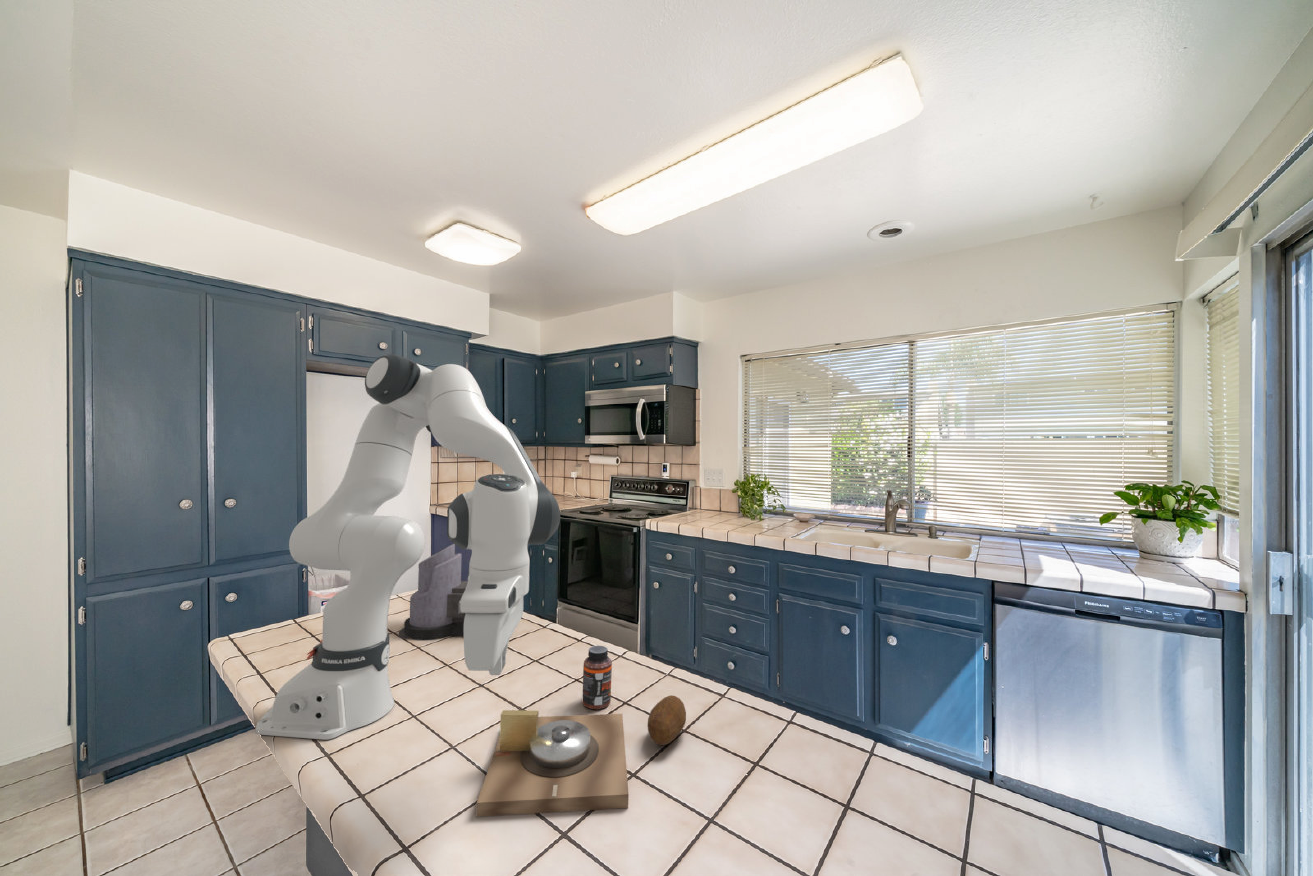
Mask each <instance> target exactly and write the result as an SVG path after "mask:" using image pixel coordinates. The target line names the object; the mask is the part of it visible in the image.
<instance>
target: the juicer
mask: <svg viewBox="0 0 1313 876" xmlns="http://www.w3.org/2000/svg"><path fill="white" fill-rule="evenodd" d="M462 559H463V558H462V553H456V545H455V544H454V543H452V544H451V545H448V546H447V547H445V548H444V549H441V550H440V551H438V552H436V553H434V554H433V555H431V556H429V557H428V558H425V559H423V560H422V561H420V562H419V563H418V577H417V578H418V579H417V581H418V582H417V591H415V592H413V593H412V594H411V596H410V597H409V617H408V618H406V619H405V620H404V624H403V626H404V627H402V628H401V629H400V630H399V632H398V637H399V638H400V639H402V640H414V641H433V640H435V641H436V640H440V639H445V638H464V618H465V615H466V613H464V612H461V610H460V602H461V598H462V596H463V593H464V591H465V589H466V587H467V583H468V580H462Z"/></svg>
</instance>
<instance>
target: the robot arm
mask: <svg viewBox="0 0 1313 876" xmlns="http://www.w3.org/2000/svg"><path fill="white" fill-rule="evenodd" d="M364 387H365V391H366V393H367V395H368V396H369V397H370V398H372V399H373V400H374V401H376V402H378V403H377V404H375V405H374V406H372V407H371V409H370V410H369V411H368V413H367V415H366V417H365V419H364V421H363V423H362V425H361V427H360V429H359V432H358V434H357V437H356V439H355V440H356V441H355V443H354V446H353V449H352V453H351V455H350V458H349V462H348V465H347V468H346V471H345V472H344V476H343V478H342V480H341V482H340V484H339V485H338V487H337V489H336V490H335V492H334V493H333V494H332V495H331V497H330V498H329V499H328V500H327V501H326V502H325V503H324V504H323V506H321V507H320V508H319V509H318V510H317V511H316V512H313V513H312V514H311V515H309V516H307V517H306V518H304V519H302V520H301V521H299V522H298V523H297V525H295V527H294V529H293V530H292V532H291V534H290V537H289V542H288V546H289V547H288V549H289V553H290V555H291V557H292V559H293V560H294V562H296V563H298V564H301V565H303V566H308V567H310V568H312V569H313V568H314V569H318V570H325V571H326V570H329V571H347V572H349V573H350V577H349V582H348V585H347V587H346V588H345V589H342V590H341V591H339V592H337V593H335V595H333V596H332V597H330V599H329V600H328V601H327V602H326V603H325V605H324V607H323V610H322V612H323V615H322V639H321V640H320V643H318V644H316V645H315V646H314V647H312V649H311V650H310V651H308V652H307V653H306V655H307V657H306V660H309V659H311V658H312V661H311V663H310V664H308V665H307V666H306V667H304V668H303V669H302V670H300V671H299V672H298V673H296V674H295V675H294V676H293V677H292V678H290V679H289V680H288V681H287V682H285V684H283V686H281V687H280V689H279V690H278V691H277V694H276V695H275V697H274V701H273V705H272V708H270V709H268V710H267V711H266V712H265V713H264V714H263V715H262V717H260V719H259V720H258V721H257V724H256V725H255V734H257V735H262V736H272V737H273V736H275V737H287V738H298V739H299V738H303V739H313V740H325V741H326V740H332V739H335V738H336V737H339V736H341V735H343V734H346V733H347V732H349V731H353V730H355V729H359V728H361V727H364V726H367V725H369V724H372V723H374V722H376V721H377V720H379V719H381V718H383V717H384V716H385V715H387V714H388V713H389V712H390V711H392V709H393V707H394V705H395V699H394V697H393V693H392V689H391V684H390V677H389V669H388V668H389V667H388V664H389V662H390V661H389V659H390V652H391V651H390V650H391V645H390V634H389V633H388V624H389V609H390V600H391V597H392V593H393V591H394V588H395V586H396V584H397V582H398V581H399V580H400V579H401V577H402V576H403V575H404V574H405V573H406V572H407V571H408V570H410V569H411V568H413V567H414V566H415V565H416V564H417V563H418V561H419V560H420V558H421V557H422V556H423V553H424V550H425V545H426V537H425V533H424V531H423V529H422V527H421V526H420V524H419V523H418V522H416V521H413V520H411V519H406V518H403V517H398V516H395V515H392V516H391V515H375V513H376V512H377V510H378V509H379V508H380V507H381V506H382V505H383V504H385V503H386V502H388V501H390V500H392V499H394V498H395V497H398V496H399V495H400V494H401V492H402V491H403V489H404V488H405V484H406V483H407V482H406V480H407V477H408V472H409V469H410V465H411V463H412V458H413V452H414V448H415V443H416V439H417V436H418V434H419V433H420V432H421V430H423V429H424V428H426V430H427V431H428V432H429V433H430V434H432V436H433V437H434V439H435V440H436V442H437V443H439V445H440V446H441V447H443V448H445V450H446V449H447V450H448V451H451V452H452V453H455V454H459V455H464V456H470V457H473V458H478V459H482V460H485V461H488V462H490V463H492V464H495V466H498V467H499V468H500V469H502V471H503V473H504V474H503V473H501V474H500V473H492V474H487V475H484V476H481V477H479V478H478V479H476V480H475V482H474V486H473V489H472V490H470V491H467V492H464V493H460V494H459V495H457V497H455V498H454V499H453V500H452V501H451V502H450V504H449V505H448V506H447V519H446V520H447V523H446V525H447V529H446V537H447V539H448V540H449V541H450V542H451V543H452V544H455V546H457V547H458V548H460V549H461V550H469V551H470V550H471V556H470V560H469V562H468V563H469V565H468V566H469V567H468V575H467V576H468V577H467V581H468V583H467V587H466V589H465V591H464V593H463V596H462V598H461V602H460V610H461V612H464V613H466V615H465V618H464V637H463V651H464V653H463V655H464V664H465V666H466V668H467V670H468V671H473V672H475V671H476V672H483V671H484V672H487V671H488V673H489V675H490V676H500V675H501V674H502V672H503V670H504V667H505V666H506V664H507V663H506V662H507V653H508V648H509V641H510V639H511V637H512V635H513V634H514V632H515V630H516V629H517V627H518V625H519V623H520V622H521V619H522V617H523V614H524V596H526V595H527V594H528V593H529V591H530V563H531V562H530V555H529V551H528V545H529V546H532V545H533V546H536V545H544V544H545V543H547V541H548V540H550V539H551V537H553V535H554V534H555V533H556V531H557V530H558V528H559V526H560V523H561V511H560V507H559V503H558V501H557V499H556V497H555V495H553V492H552V491H550V490H549V489H548V487H547V486H546V485H545V483H544V482H543V480H542V479H541V478H540V475H539V474H538V472H537V470H536V468H535V466H534V465H533V463H532V460H531V459H530V457H529V455H528V454H527V452H526V450H525V449H524V447H523V445H522V443H521V442H520V439H518V437H517V435H516V433H515V431H513V430H512V429H511V428H509V427H508V426H507V425H505V424H503V423H502V422H501V421H500V420H499V419H498V418H496V416H494V414H492V412H491V411H490V410H489V408H488V407H487V404H486V401H485V397H484V395H483V393H482V390H481V388H480V385H479V384H478V382H477V380H476V379H475V377H474V375H473V374H472V373H471V372H470V370H468V369H467V368H466V367H465V366H462V365H460V364H455V363H446V364H442V365H440V366H437V367H436V368H434V369H430V368H428V367H426V366H424V365H421V364H419V363H417V362H415V361H414V360H411V359H410V358H409V357H405V356H401V355H399V354H393V353H388V354H384V355H381V356H380V357H378V358H377V359H376V360H374V361H373V362H372V364H371V365H370V367H369V368H368V370H367V372H366V374H365V378H364ZM258 731H259V732H258Z"/></svg>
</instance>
